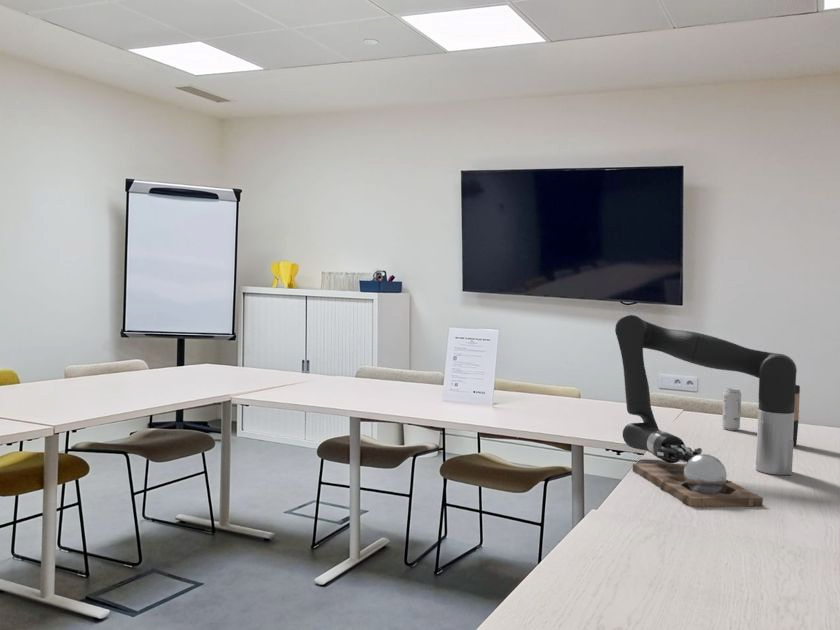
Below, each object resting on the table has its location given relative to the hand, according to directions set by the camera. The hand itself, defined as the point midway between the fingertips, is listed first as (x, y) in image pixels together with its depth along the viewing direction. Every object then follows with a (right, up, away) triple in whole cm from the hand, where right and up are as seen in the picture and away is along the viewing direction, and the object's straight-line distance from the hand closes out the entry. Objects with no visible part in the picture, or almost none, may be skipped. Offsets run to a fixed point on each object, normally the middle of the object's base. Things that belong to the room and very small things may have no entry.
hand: (695, 460), depth 196 cm
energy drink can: (+44, -5, +86) cm, 96 cm away
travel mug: (+52, -6, +61) cm, 80 cm away
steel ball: (0, -2, -6) cm, 6 cm away
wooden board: (0, -7, +1) cm, 7 cm away
